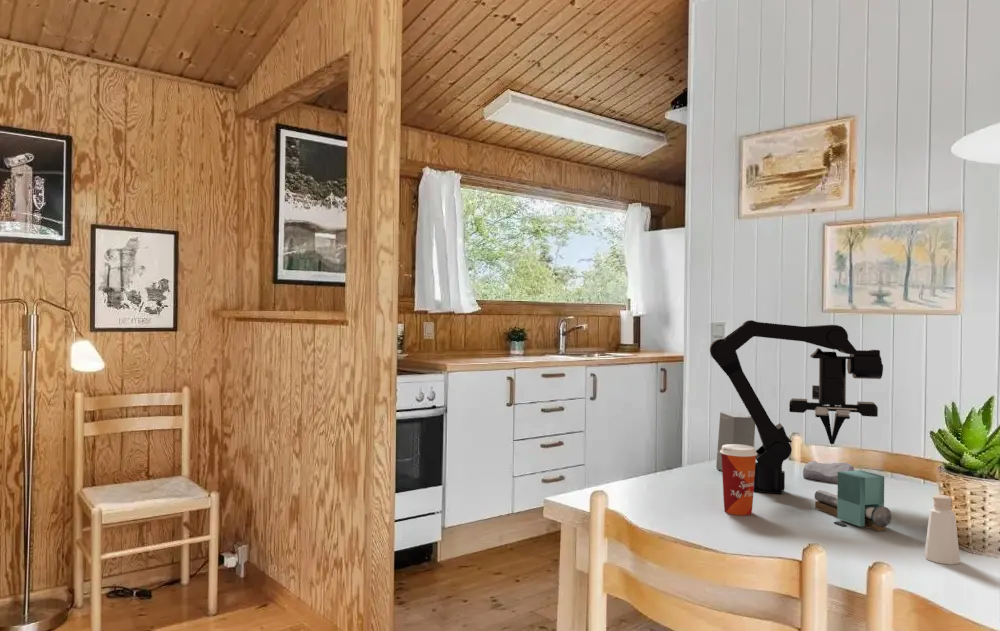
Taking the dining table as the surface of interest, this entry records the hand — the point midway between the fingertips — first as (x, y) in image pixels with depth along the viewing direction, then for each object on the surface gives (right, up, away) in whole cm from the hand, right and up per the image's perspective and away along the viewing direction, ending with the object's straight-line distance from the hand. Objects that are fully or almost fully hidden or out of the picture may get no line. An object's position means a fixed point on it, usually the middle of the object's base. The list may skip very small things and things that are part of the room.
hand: (831, 443), depth 169 cm
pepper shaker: (-2, -12, -45) cm, 47 cm away
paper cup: (-27, -12, -16) cm, 34 cm away
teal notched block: (-5, -12, -23) cm, 27 cm away
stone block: (+7, -13, +17) cm, 22 cm away
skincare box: (-15, -12, +24) cm, 31 cm away
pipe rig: (-6, -12, -20) cm, 24 cm away
